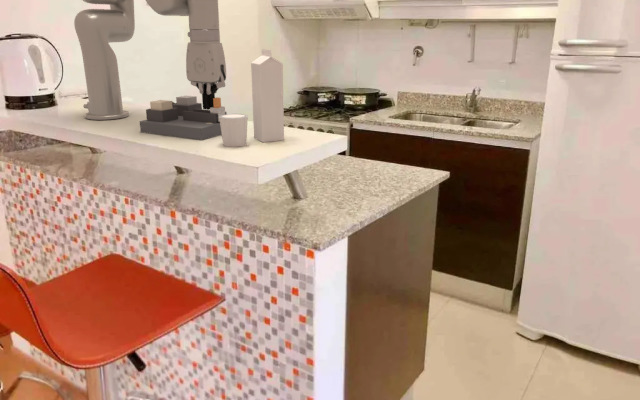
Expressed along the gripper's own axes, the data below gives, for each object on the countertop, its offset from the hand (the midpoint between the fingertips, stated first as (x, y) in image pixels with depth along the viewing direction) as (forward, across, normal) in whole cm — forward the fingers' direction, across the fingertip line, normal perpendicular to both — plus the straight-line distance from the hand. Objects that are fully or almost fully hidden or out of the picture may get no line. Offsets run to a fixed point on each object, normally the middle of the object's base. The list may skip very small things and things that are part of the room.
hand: (209, 108), depth 142 cm
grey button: (+2, -12, +5) cm, 13 cm away
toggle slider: (+3, +3, 0) cm, 4 cm away
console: (+6, -6, 0) cm, 8 cm away
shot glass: (+6, +15, -9) cm, 19 cm away
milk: (+6, +19, 0) cm, 20 cm away
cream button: (+2, -12, -5) cm, 13 cm away
